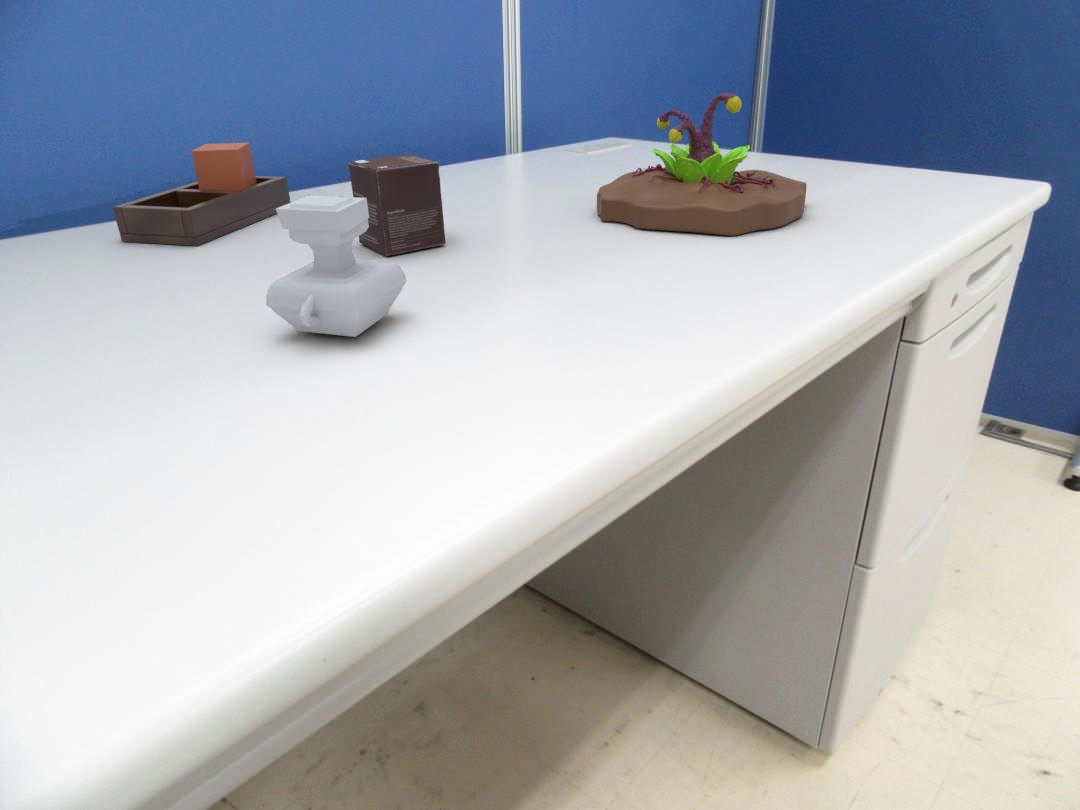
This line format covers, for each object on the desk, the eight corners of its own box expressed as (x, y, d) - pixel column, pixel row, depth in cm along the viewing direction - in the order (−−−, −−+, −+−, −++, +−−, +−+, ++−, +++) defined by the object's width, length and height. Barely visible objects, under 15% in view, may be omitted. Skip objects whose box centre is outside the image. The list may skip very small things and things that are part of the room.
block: (203, 211, 81) (190, 150, 78) (216, 201, 85) (204, 144, 83) (249, 209, 81) (237, 149, 79) (260, 199, 85) (249, 142, 83)
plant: (760, 245, 68) (774, 107, 63) (568, 220, 78) (567, 99, 73) (827, 200, 83) (843, 86, 78) (658, 184, 93) (662, 81, 88)
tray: (121, 241, 75) (112, 206, 73) (225, 204, 88) (219, 174, 87) (197, 246, 73) (189, 210, 71) (291, 207, 86) (286, 176, 85)
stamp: (354, 357, 48) (335, 219, 44) (261, 347, 50) (235, 214, 46) (417, 309, 56) (405, 187, 52) (335, 302, 58) (317, 184, 54)
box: (447, 246, 70) (440, 161, 67) (385, 258, 67) (375, 170, 64) (417, 232, 75) (409, 153, 72) (357, 243, 72) (346, 160, 69)
